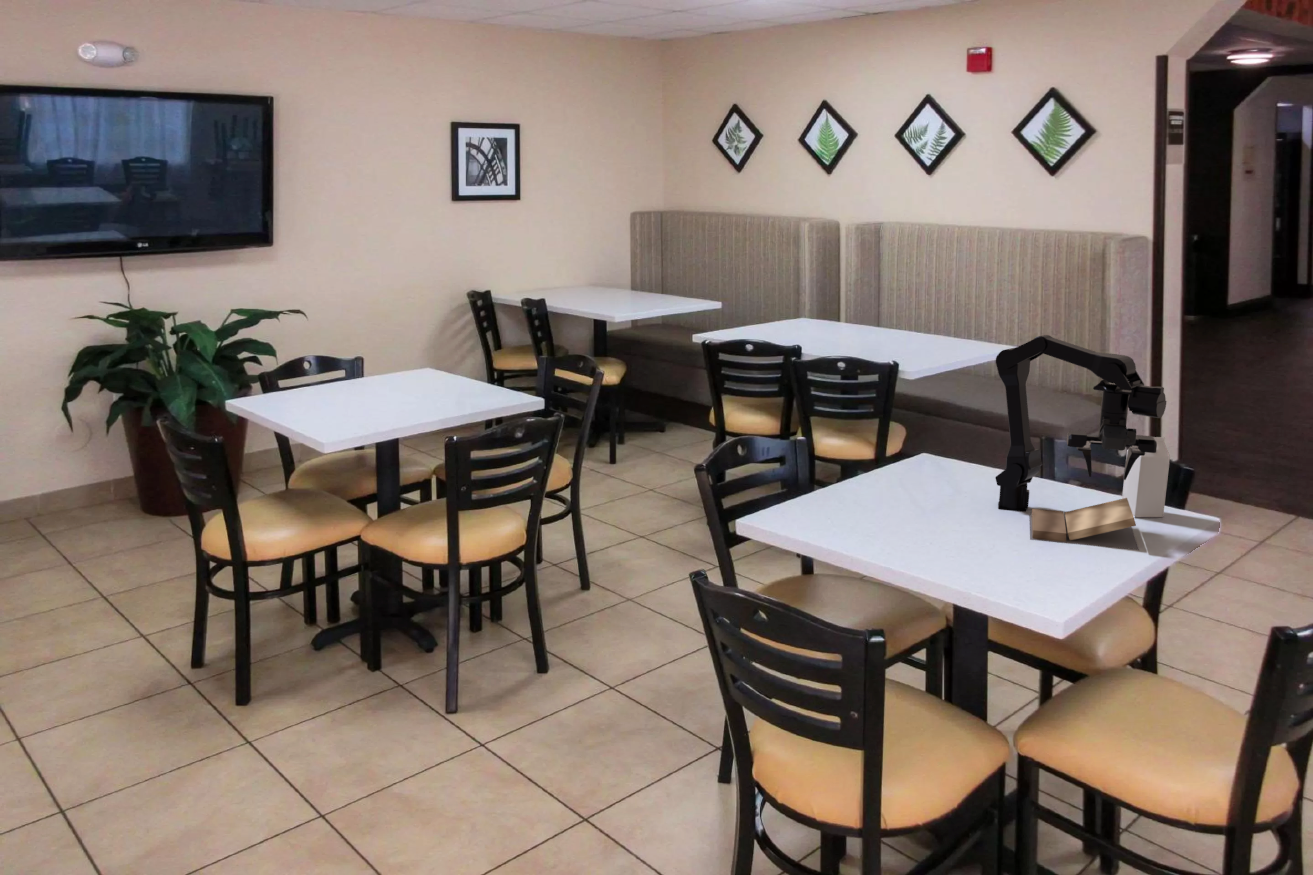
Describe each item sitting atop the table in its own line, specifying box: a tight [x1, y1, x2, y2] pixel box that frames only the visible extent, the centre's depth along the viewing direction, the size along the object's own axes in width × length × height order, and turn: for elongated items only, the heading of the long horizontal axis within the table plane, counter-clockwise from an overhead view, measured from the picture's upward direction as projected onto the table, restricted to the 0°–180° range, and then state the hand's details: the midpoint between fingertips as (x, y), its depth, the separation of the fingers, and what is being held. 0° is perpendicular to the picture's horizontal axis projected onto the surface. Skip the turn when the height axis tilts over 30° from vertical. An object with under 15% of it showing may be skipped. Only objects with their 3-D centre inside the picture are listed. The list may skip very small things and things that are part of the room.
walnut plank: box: [1031, 508, 1066, 542], centre depth 257 cm, size 7×18×2 cm, turn 163°
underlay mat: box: [1028, 514, 1140, 551], centre depth 255 cm, size 22×20×1 cm
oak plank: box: [1064, 498, 1137, 540], centre depth 253 cm, size 14×17×2 cm
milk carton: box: [1121, 436, 1171, 518], centre depth 269 cm, size 7×7×19 cm
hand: (1107, 477), depth 257 cm, fingers open, 7 cm apart
